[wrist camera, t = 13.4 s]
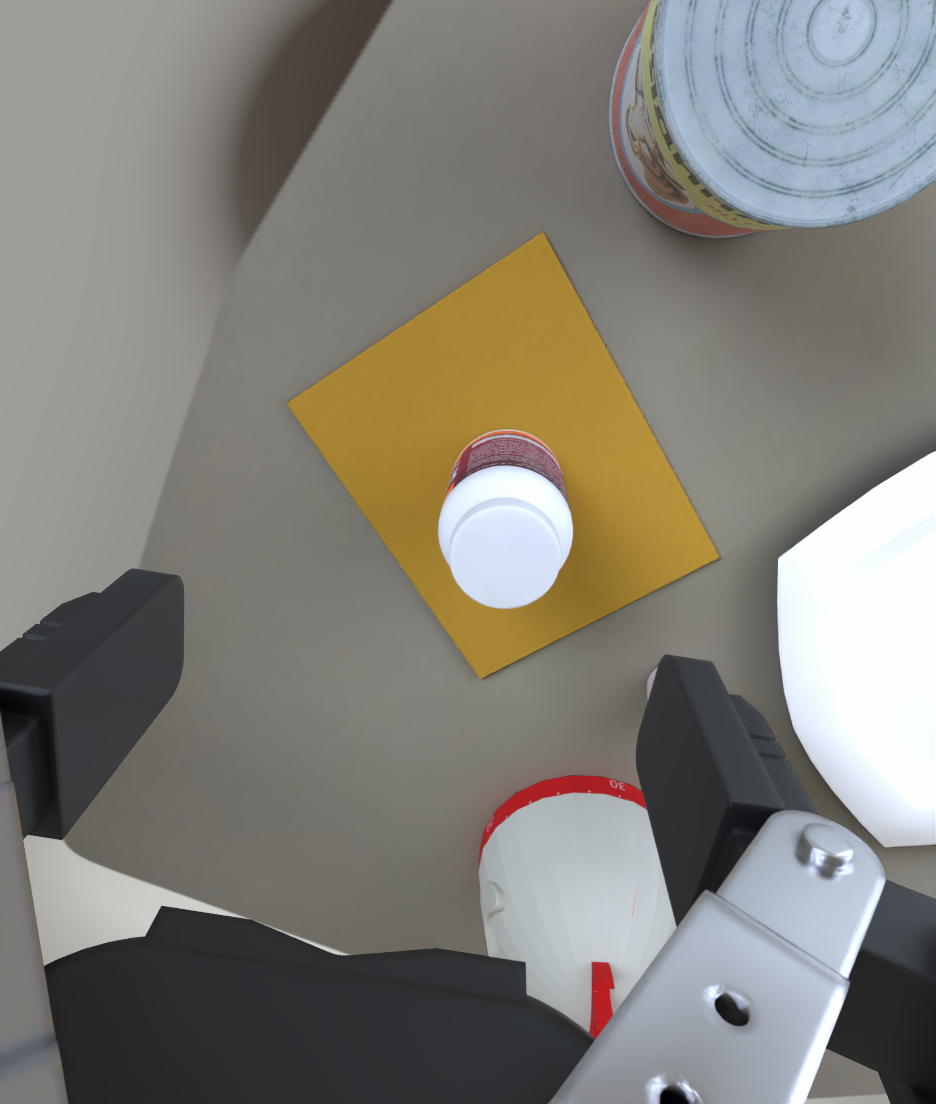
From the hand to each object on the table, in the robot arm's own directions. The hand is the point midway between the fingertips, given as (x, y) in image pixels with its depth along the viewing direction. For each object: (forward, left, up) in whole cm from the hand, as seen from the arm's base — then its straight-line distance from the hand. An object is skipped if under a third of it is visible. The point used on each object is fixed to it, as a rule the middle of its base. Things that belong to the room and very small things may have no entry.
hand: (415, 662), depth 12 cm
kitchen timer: (+32, -6, -29) cm, 44 cm away
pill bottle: (+5, -1, -29) cm, 29 cm away
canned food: (-8, +15, -29) cm, 34 cm away
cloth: (+5, -1, -29) cm, 29 cm away
